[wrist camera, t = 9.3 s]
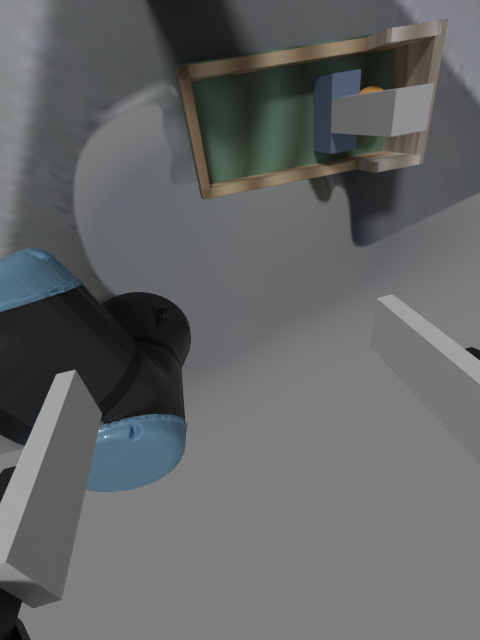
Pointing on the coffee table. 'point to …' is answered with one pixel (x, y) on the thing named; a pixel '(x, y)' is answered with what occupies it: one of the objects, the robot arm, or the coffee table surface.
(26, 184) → the coffee table surface
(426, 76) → the wooden tray
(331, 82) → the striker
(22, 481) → the robot arm
